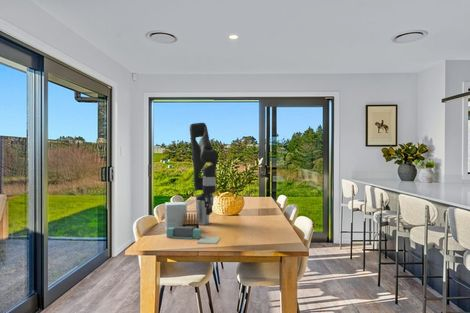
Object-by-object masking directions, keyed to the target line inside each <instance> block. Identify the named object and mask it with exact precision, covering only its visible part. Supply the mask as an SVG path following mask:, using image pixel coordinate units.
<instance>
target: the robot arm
mask: <svg viewBox="0 0 470 313" xmlns="http://www.w3.org/2000/svg"><path fill="white" fill-rule="evenodd" d="M189 134H190V135H189V136H190V142H191V153H192V157H191V158H192V166H193V167H192V168H193V186H194V190H196V191H202V193H200V194H198V195H196V197H195V198H196V199H195V205H196V206H195V215H196V218H197V213H198V219H199V226H200V225H201V226H203V225H210V215H211V214H212V213H213V206H214V200H215V198H214V197H215V195H213V194H215V193H216V192H217V191H216V188H217V184H216V182H217V180H216V168H217V164H218V160H219V152H218V150H215V149H213V146H212V143H211V141H210V135H209V131H208V127H207V125H206V123H204V122H196V123H191V124H190V125H189ZM197 138H200V139H199V141H197ZM207 163H210V165H207V166H206V164H207ZM201 172H202V175H203V176H202V177H199V176H200V174H201Z"/></svg>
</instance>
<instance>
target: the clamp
mask: <svg viewBox="0 0 470 313" xmlns="http://www.w3.org/2000/svg"><path fill="white" fill-rule="evenodd" d="M174 228H175V227H169V228H168V229H167V232H166V238H172V239H179V240H180V239H182V240H183V239H184V240H192V239H194V240H195V239H196V240H198V239H199V240H200V239H201V238H202V228H200V227H199V228H195V229H193V238H192V237H176V236H174Z"/></svg>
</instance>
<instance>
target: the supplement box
mask: <svg viewBox="0 0 470 313" xmlns="http://www.w3.org/2000/svg"><path fill="white" fill-rule="evenodd" d="M187 207H188V206H187V203H186V202H184V201H172V202H171V201H169V202H167V201H166V202H164V230H165V231H166V233H167V229H168V228H169V227H176V226H180V227H182V225H183V214H184V215H185V219H186V213H187V212H188V211H187V209H188V208H187Z"/></svg>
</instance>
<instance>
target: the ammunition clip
mask: <svg viewBox="0 0 470 313" xmlns="http://www.w3.org/2000/svg"><path fill="white" fill-rule="evenodd" d="M182 227H194V229H195V228H200V225H199V219H198V213H197V218H196V212H194V214H193V213H191V214H190V213H188V214H187V213H186V219H185V215H184V214H183V225H182Z"/></svg>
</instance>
